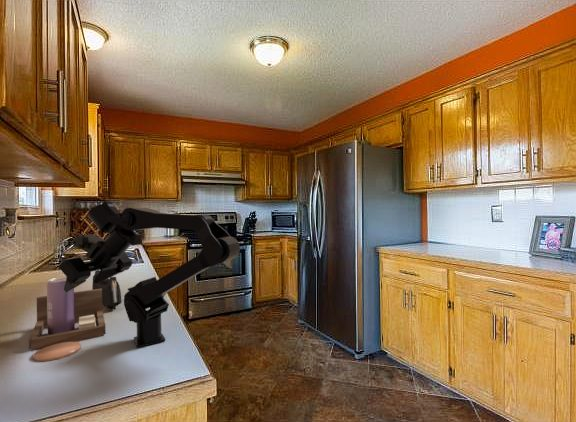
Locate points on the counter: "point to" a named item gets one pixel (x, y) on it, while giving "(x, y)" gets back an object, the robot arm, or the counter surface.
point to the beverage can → (59, 307)
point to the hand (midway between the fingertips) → (81, 286)
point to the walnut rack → (83, 306)
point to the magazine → (108, 291)
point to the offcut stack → (87, 321)
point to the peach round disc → (57, 351)
